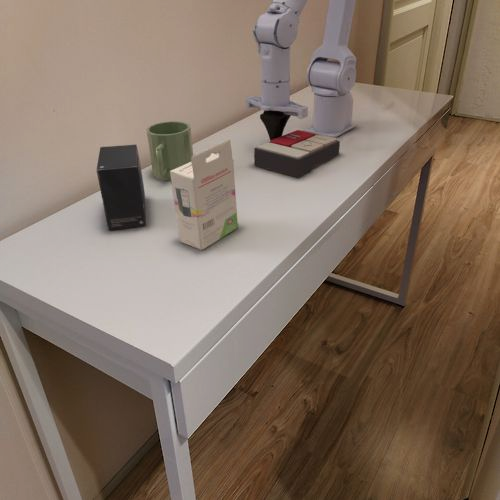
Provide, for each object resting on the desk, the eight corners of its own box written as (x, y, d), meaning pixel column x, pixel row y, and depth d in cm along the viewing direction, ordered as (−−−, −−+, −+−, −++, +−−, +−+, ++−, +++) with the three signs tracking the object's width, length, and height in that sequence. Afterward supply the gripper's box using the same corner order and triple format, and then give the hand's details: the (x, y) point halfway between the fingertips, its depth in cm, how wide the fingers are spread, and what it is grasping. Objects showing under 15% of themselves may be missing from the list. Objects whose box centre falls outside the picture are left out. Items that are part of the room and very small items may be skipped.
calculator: (341, 137, 103) (299, 156, 92) (339, 157, 105) (298, 178, 95) (297, 127, 109) (253, 144, 99) (296, 147, 111) (253, 165, 101)
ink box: (215, 219, 82) (208, 132, 74) (239, 228, 79) (233, 138, 72) (177, 241, 77) (165, 149, 69) (200, 252, 74) (190, 156, 66)
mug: (160, 163, 104) (154, 120, 99) (199, 164, 102) (195, 121, 98) (141, 186, 94) (134, 140, 90) (183, 188, 93) (178, 141, 88)
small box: (148, 226, 81) (138, 165, 75) (107, 231, 80) (94, 170, 74) (146, 198, 90) (137, 142, 84) (109, 203, 89) (98, 146, 83)
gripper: (234, 79, 100) (237, 144, 107) (293, 89, 92) (292, 159, 99) (256, 72, 105) (258, 135, 112) (314, 81, 97) (312, 148, 104)
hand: (275, 146), depth 106 cm, fingers closed
